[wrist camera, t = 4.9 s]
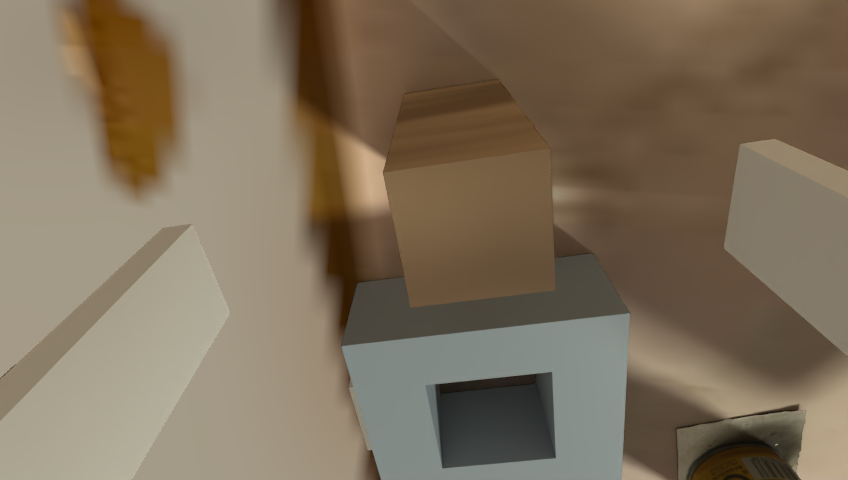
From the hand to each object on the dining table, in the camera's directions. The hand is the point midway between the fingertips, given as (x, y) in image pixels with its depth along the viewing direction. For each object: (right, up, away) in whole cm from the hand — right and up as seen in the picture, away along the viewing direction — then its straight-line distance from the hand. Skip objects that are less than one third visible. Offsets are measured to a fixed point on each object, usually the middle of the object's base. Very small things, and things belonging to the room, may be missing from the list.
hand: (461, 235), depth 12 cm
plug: (+1, +5, +9) cm, 10 cm away
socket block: (+3, -11, +17) cm, 21 cm away
